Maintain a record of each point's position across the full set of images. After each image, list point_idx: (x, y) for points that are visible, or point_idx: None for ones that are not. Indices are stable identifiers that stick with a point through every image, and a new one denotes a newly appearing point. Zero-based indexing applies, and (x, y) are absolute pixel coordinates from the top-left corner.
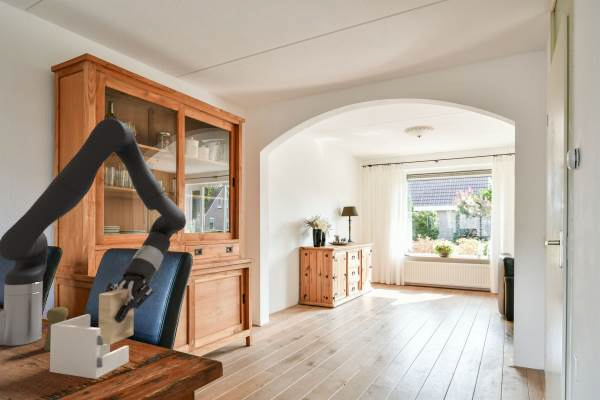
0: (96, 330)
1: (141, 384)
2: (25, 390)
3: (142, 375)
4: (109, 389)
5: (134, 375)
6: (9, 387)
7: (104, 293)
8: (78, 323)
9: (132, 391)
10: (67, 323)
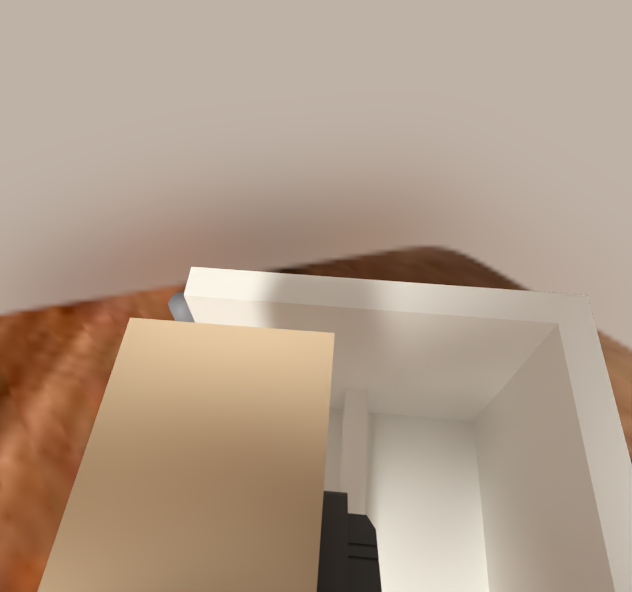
0: (193, 270)
1: (18, 379)
2: (412, 269)
3: (43, 458)
4: (126, 324)
5: (81, 450)
6: (487, 275)
7: (289, 387)
8: (572, 508)
9: (34, 326)
10: (564, 393)
